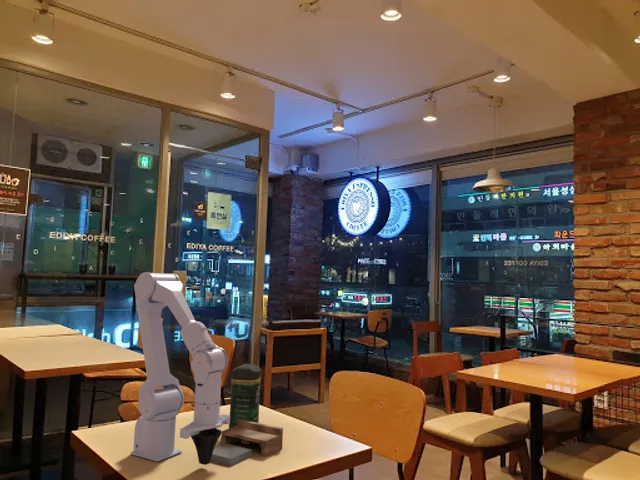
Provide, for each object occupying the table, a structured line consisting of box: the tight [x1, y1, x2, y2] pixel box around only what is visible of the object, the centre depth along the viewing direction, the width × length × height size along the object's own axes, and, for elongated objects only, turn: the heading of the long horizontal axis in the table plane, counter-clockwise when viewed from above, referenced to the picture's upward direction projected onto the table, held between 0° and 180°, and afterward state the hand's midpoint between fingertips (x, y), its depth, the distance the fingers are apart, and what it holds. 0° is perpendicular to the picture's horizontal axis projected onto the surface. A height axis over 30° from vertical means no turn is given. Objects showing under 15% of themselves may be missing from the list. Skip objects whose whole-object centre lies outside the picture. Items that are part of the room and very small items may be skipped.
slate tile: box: [210, 443, 253, 467], centre depth 119 cm, size 8×8×2 cm
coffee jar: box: [228, 363, 262, 429], centre depth 141 cm, size 10×8×19 cm
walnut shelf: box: [220, 419, 284, 457], centre depth 127 cm, size 14×8×5 cm, turn 61°
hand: (204, 463), depth 112 cm, fingers closed
